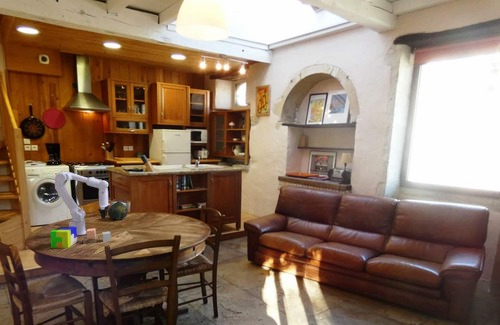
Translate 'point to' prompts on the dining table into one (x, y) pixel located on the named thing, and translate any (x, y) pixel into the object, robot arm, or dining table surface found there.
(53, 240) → the puzzle toy
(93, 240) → the wood slab
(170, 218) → the dining table surface
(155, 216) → the dining table surface
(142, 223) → the dining table surface
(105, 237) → the light grey block
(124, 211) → the squash
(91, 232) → the peach block
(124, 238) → the dining table surface
